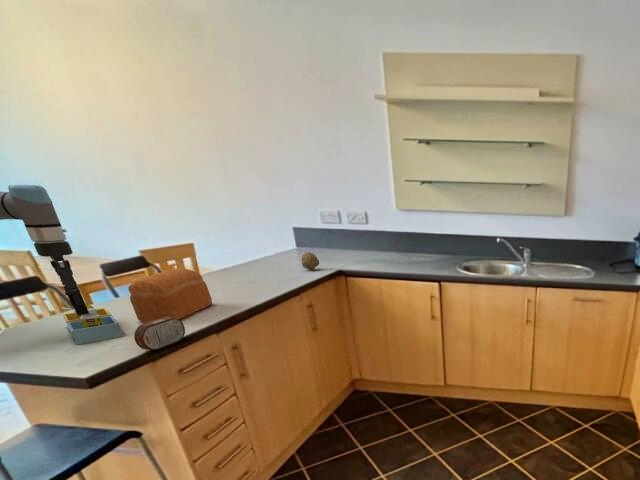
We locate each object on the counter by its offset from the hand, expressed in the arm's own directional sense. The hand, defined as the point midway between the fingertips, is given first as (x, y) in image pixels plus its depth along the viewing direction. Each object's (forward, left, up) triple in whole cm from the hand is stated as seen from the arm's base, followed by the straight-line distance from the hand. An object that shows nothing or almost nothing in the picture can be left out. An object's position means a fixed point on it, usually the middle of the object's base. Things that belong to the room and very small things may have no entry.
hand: (80, 309), depth 135 cm
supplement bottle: (+2, +1, -8) cm, 9 cm away
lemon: (-11, +1, -8) cm, 14 cm away
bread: (-10, +26, -9) cm, 30 cm away
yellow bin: (-12, +1, -9) cm, 15 cm away
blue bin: (+2, +1, -9) cm, 9 cm away
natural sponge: (-55, +100, -9) cm, 115 cm away
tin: (+28, +14, -9) cm, 33 cm away
